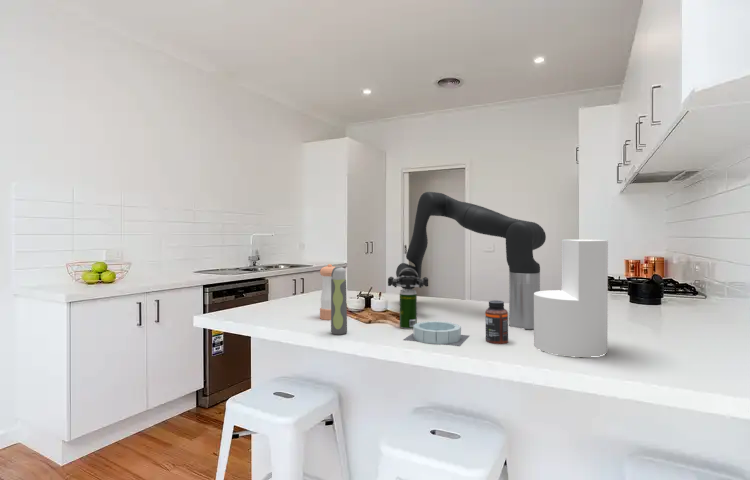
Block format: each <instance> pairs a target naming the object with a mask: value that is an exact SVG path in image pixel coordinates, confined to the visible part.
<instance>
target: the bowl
mask: <svg viewBox="0 0 750 480" xmlns="http://www.w3.org/2000/svg"><path fill="white" fill-rule="evenodd" d="M412 332H413V333H412V334H413V337H414V339H415V340H417V341H420V342H419V343H422V344H423V343H424V344H432V345H443V344H448V343H449V344H450V343H454V342H458V341H459V340H460V339H461V335H462V326H460V324H457V323H455V322H452V321H441V320H429V321H421V322H417V323H416V324H415V325H413V329H412Z"/></svg>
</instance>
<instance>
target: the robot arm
mask: <svg viewBox="0 0 750 480" xmlns="http://www.w3.org/2000/svg"><path fill="white" fill-rule="evenodd" d="M416 207H417V208H416V213H415V214H416V215H415V218H414V226H413V231H412V236H411V239H410V243H409V245H408V248H407V250H406V254H405V255H406V256H405V258H406V259H407V260H408V261H409V262H410V263H412V264H413V265H411V264H408V263H406V262H405V263H404V262H402V263H400V264H398V266H397V268H396V271H395V275H396V278H394V277H393V276H389V277H388V279H387V286H388V287H394V288H397V287H398V288H399V287H401V288H402V290H404V289H412V290H414V288H420V289H422V287H426V288H427V287H429V278H428V277H426V276H425V277H422V265H423V260H424V258H425V257H424V256H425V254H426V251H427V249H428V241H429V239H428V233H427V226H428V222H429V219H430V218H431V217H432V216H433V217H435V216H436V217H444V218H449V219H452V220H455V221H456V222H457V223H458V225H460V226H461V227H462V228H464V229H466V230H468V231H471V232H475V233H477V234H481V235H485V236H486V235H487V236H491V237H499V238H503V239H505V255H506V262H507V265H508V270H509V271H508V274H509V275H508V277H509V279H508V281H509V283H508V285H509V286H508V287H509V288H508V291H509V292H508V293H509V295H508V297H509V298H508V300H509V301H508V304H509V307H508V309H509V310H508V311H509V312H508V315H509V316H508V326H510V327H513V328H516V329H517V328H518V329H524V330H534V293H535V292H538V291H541V265H540V263H539V262H538V261H536V260H535V259H534V251H535V250H537V249H539V248H541V247H542V246H544V244H545V242H546V239H547V236H546V235H547V234H546V232H545V230H544V228H543V227H542V226H541V225H540V224H538V223H537V222H535V221H533V222H532V221H527V220H522V219H518V218H513V217H510V216H508V215H504V214H502V213H500V212H497V211H495V210H492V209H489V208H487V207H484V206H481V205H478V204H473V203H471V202H470V203H469V202H465V201H459V200H457V199H455V198H453V197H451V196H449V195H447V194H444V193H442V192H437V191H436V192H434V191H425V192H424V193H422V194H421V195H420V197H419V199H418V202H417V206H416Z"/></svg>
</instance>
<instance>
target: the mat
mask: <svg viewBox="0 0 750 480" xmlns="http://www.w3.org/2000/svg"><path fill="white" fill-rule="evenodd" d="M469 337H470V335H469V334H468V335H467V334H461V339H460V340H459V341H458V342H454V343H450V344H449V343H448V344H442V345H443V346H453V347H461V346H462V345H463V344H464V343H465V341H467V340H468V338H469ZM402 341H407V342H408V341H409V342H416V343H417V342H418V343H421V342H420V341H417V340H415V339H414V337H413V333H411V334H410V335H408V336H406V337H405V338H403V339H402Z"/></svg>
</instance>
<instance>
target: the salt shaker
mask: <svg viewBox="0 0 750 480" xmlns="http://www.w3.org/2000/svg"><path fill="white" fill-rule="evenodd" d="M335 267H336V266H333V265H332V264H331V263H328V264H327V265H326V266H323V267H321V269H320V270H319V274H320V275H321V278H322V279H321V280H322V282H321V286H322V287H321V293H320V307H319V317H320V320H323V321H331V279H332V276H331V274H332V271H333V269H334V268H335Z"/></svg>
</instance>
